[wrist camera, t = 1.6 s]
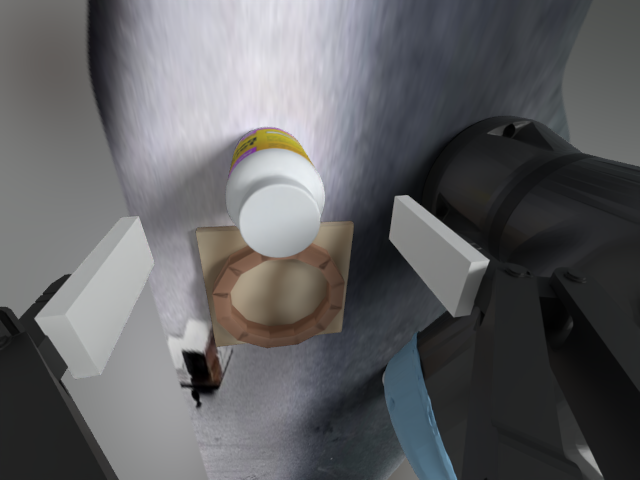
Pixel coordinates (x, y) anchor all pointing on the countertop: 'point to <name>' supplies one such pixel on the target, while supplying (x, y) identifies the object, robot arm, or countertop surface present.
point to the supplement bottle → (274, 193)
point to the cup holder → (275, 287)
